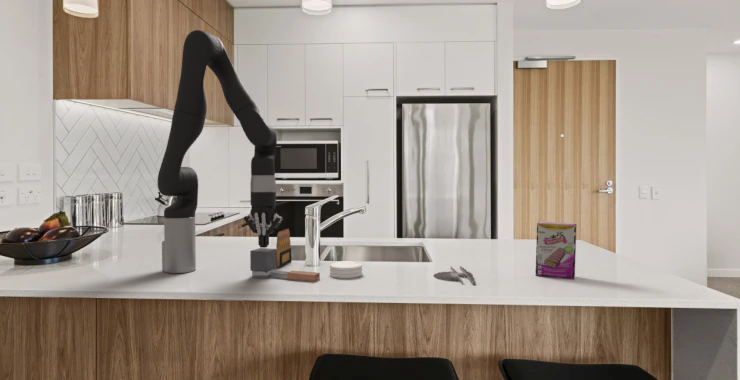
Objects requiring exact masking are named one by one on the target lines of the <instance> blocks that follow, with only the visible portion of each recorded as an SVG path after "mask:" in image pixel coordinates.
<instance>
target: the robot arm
mask: <svg viewBox="0 0 740 380" xmlns="http://www.w3.org/2000/svg"><path fill="white" fill-rule="evenodd" d="M181 59H182V60H181V68H180V69H181V70H180V78H179V83H178V88H177V94H176V100H175V105H174V108H173V114H172V118H171V125H170V130H169V136H168V139H167V144H166V148H165V151H164V154H163V157H162V160H161V165H160V168H159V171H158V175H157V189H158V191H159V193H160V194H161V195H162V196H164V197H176V199H175V201H174V202H173V203H172V204H171V205H168V206H167V207H165V208H164V211H163V228H164V229H163V230H164V231H163V233H164V234H163V235H164V236H163V237H164V238H163V239H164V240H162V241H161V271H162V272H164V273H167V274H184V273H185V274H186V273H191V272H194V271H196V268H197V263H196V262H197V257H196V256H197V255H196V253H197V252H196V250H197V249H196V244H197V243H196V211H197V208H198V201H199V200H198V198H199V197H198V196H199V179H198V175H197V172H196V171H195V169H193V168H192V167H189V166H182V165H183V161H184V158H185V155H186V153H187V152H188V150H189V149H190V148H191V146H192V145H193V144H194V143H195V142H196V141H197V139H198V138H199V137H200V135H201V134H202V132H203V130H204V126H205V122H206V118H207V111H208V110H207V109H208V108H207V107H208V105H207V100H206V93H205V87H204V86H205V85H204V80H205V74H206V71H207V67H208V68H209V69H210V70H211V71H212V72H213V74H214V75H215V77H217V80H218V81H219V84H220V86H221V87H220V88H221V89H222V90H221V91H222V94H223V97H224V99H225V101H226V103H227V105H228V106H229V108H230V110H231V112H232V113H233V114H234V116H235V117H236V119H237V120H238V121H239V123H240V126H241V128H242V131H243V132H244V134H245V136H246V138H247V140H249V142H250V143H251V145H253V147H254V155H253V156H252V158H251V162H250V183H249V184H250V187H249V188H250V190H249V191H250V205H251V208H250V213H249V214H248V215H245V216H243V220H244V221H245V222H246V224H247V226H248V228H250V230H251V231H252V233H253V234H257V238H258V239H257V240H258V241H257V243H258V246H259V248H268V246H269V245H270V234H275V232H276V231H277V229H278V228H279V227H280V226H281V224H282V223H283V221H284V218H283V216H280V215H279V214H278V212H277V209H276V205H277V187H276V186H277V182H276V176H275V175H276V171H275V170H276V167H275V166H276V165H275V158H276V153H277V152H276V151H277V144H278V142H277V141H278V140H277V133H276V131H275V130H274V128H273V127H271V126H270V125H267V123H266V122H265V120H264V119H263V117H262V116H261V114H260V109H259V107H258V106H257V103H256V102H255V100H253V98H252V96H251V94H250V93H249V92H248V90H247V88H246V87H245V85H244V84H243V82H242V81H241V79H240V76H239V75H238V73H237V71H236V70H235V67H234V65H233V63H232V61H231V59H230V57H229V54H228V52H227V50H226V48H225V45H224V44H223V41H222V40H221V39H220V38H219V37H218V36H216V35H214V34H212V33H209V32H207V31H204V30H200V29H196V30H192V31H190V32H189V33H188V34H187V36H186V37H185V39H184V42H183V45H182V58H181Z"/></svg>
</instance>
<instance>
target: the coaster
mask: <svg viewBox="0 0 740 380" xmlns="http://www.w3.org/2000/svg"><path fill="white" fill-rule="evenodd" d="M362 275H363V264H361V263H360V262H356V261H337V262H333V263H331V264H329V276H331V278H332V277H333V278H335V279H355V277H356V278H360V277H362ZM359 276H360V277H359Z"/></svg>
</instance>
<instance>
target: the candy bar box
mask: <svg viewBox="0 0 740 380" xmlns="http://www.w3.org/2000/svg"><path fill="white" fill-rule="evenodd" d="M535 247H536V250H535V252H536V253H535V254H536V255H535V276H536V277H537V276H538V277H545V278H556V279H567V280H575V277H576V256H577V254H576V253H577V251H576V250H577V248H576V247H577V223H566V222H552V221H538V222H537V223H536V246H535Z"/></svg>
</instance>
